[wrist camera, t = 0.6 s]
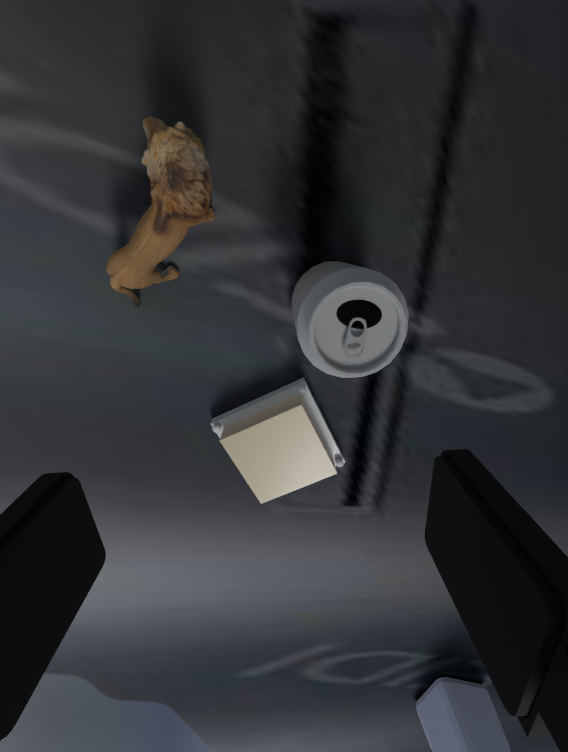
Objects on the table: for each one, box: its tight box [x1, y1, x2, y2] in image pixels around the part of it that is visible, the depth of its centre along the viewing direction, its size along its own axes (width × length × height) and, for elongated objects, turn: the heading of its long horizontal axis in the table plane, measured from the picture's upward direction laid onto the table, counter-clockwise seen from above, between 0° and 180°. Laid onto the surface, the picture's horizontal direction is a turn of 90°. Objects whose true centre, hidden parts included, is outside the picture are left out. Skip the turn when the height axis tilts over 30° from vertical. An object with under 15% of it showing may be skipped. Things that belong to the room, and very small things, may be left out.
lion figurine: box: [106, 117, 215, 309], centre depth 25 cm, size 15×5×9 cm, turn 149°
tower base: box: [211, 377, 345, 504], centre depth 35 cm, size 11×11×4 cm
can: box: [292, 261, 409, 378], centre depth 26 cm, size 8×8×12 cm
